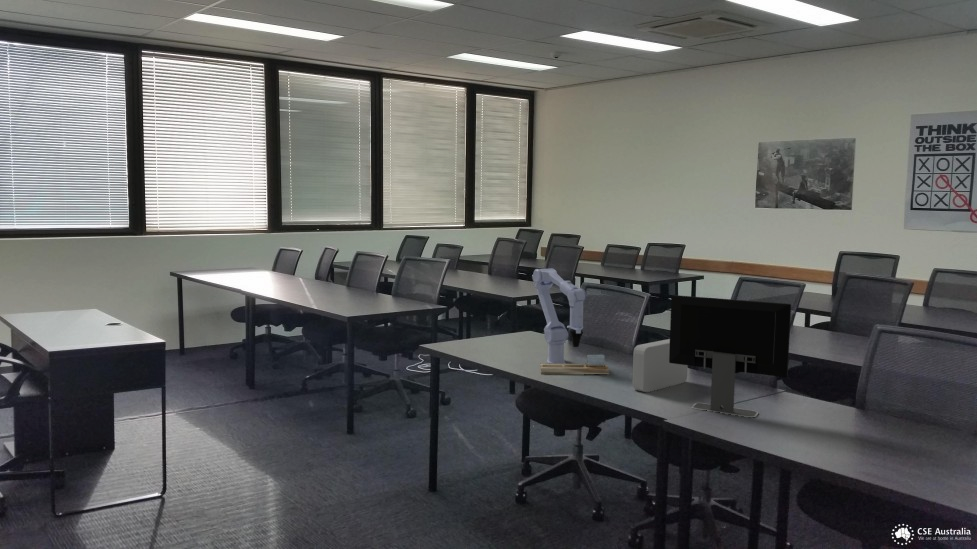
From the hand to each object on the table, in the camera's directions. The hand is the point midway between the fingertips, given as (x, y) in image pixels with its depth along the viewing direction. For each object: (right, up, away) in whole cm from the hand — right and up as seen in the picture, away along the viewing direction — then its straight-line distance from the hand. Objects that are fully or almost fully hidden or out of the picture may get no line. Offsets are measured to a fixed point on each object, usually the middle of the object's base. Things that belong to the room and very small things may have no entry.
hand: (575, 346), depth 323 cm
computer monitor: (+46, -17, -61) cm, 78 cm away
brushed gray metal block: (+8, -10, -5) cm, 14 cm away
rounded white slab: (+31, -14, -28) cm, 44 cm away
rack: (-1, -11, -5) cm, 12 cm away
